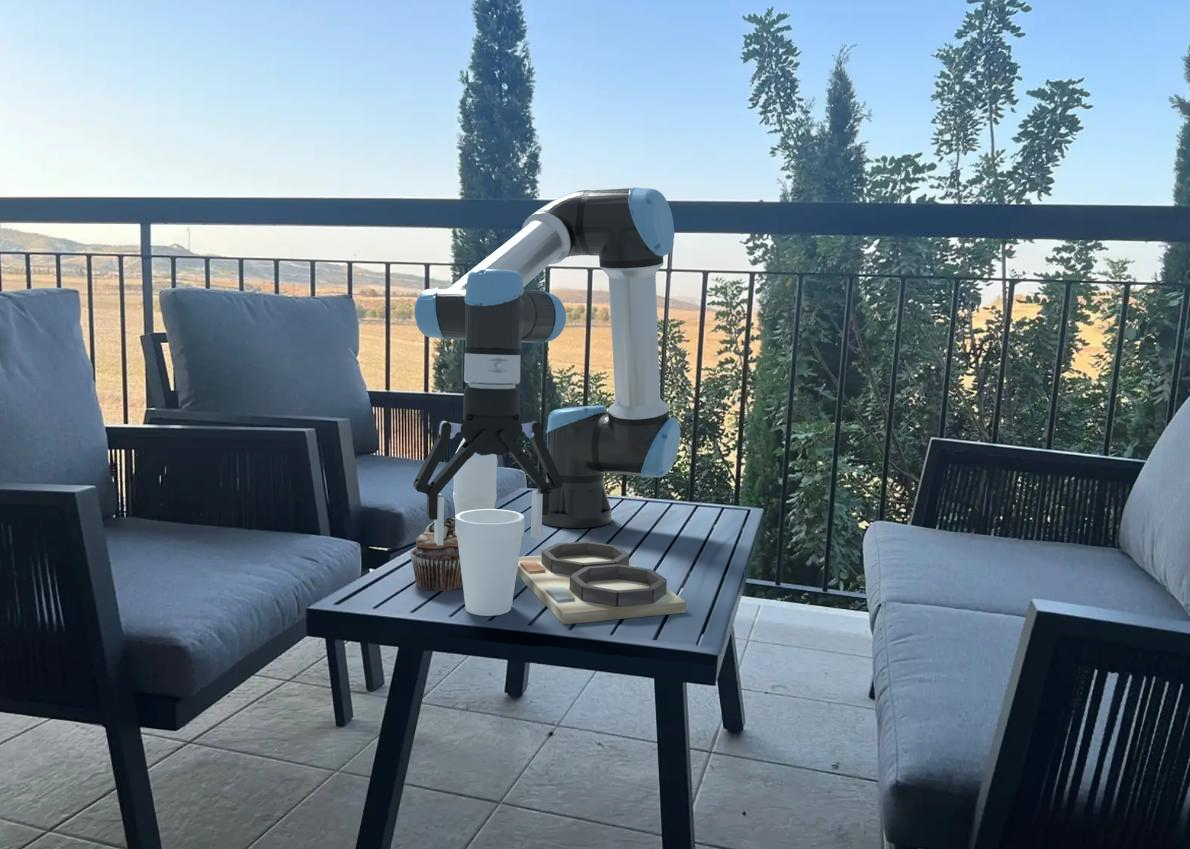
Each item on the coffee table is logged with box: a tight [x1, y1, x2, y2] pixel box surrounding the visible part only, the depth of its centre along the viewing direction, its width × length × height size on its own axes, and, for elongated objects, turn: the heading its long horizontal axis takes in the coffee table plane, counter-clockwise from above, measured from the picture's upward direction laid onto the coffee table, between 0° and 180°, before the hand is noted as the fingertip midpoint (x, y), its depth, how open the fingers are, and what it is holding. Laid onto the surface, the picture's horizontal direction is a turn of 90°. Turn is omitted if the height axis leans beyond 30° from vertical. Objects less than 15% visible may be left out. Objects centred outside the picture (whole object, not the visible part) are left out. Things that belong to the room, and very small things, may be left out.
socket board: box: [516, 541, 687, 625], centre depth 129 cm, size 28×18×4 cm, turn 20°
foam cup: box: [455, 508, 525, 617], centre depth 118 cm, size 10×9×13 cm
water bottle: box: [452, 437, 499, 515], centre depth 139 cm, size 7×7×25 cm
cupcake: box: [410, 515, 463, 592], centre depth 128 cm, size 10×10×10 cm
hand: (488, 540), depth 117 cm, fingers open, 13 cm apart
